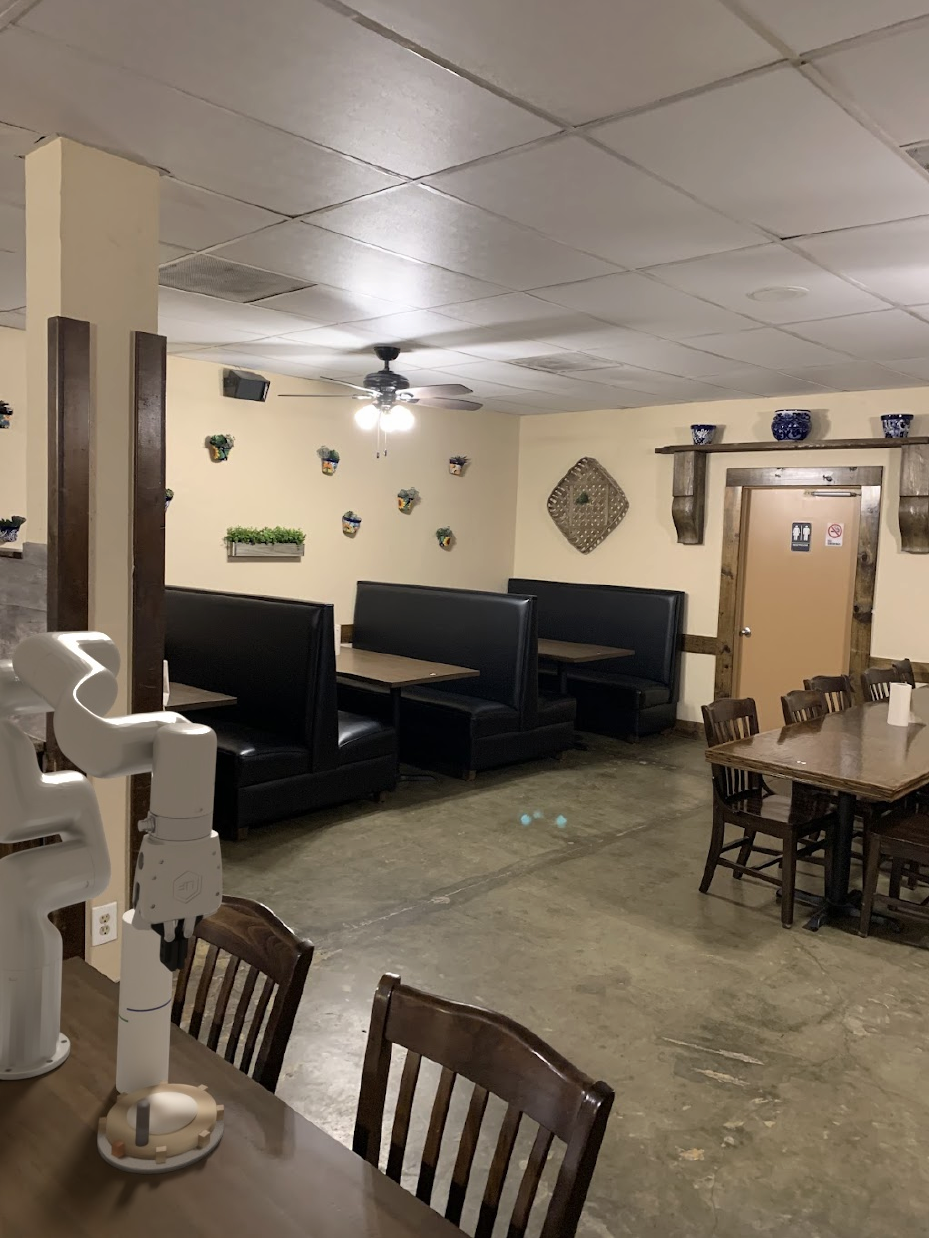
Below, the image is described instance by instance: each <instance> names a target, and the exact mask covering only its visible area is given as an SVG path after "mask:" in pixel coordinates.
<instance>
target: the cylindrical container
mask: <svg viewBox="0 0 929 1238" xmlns="http://www.w3.org/2000/svg"><path fill="white" fill-rule="evenodd" d="M134 912H135V910H134V909H133V908H131V909H129V910H127V911H126V912H124V913H123V915H122V919H121V921H122V923H121V924H122V926H121V943H120V968H119V969H120V970H119V971H120V972H119V976H120V977H119V994H118V996H119V997H118V1000H119V1001H118V1023H117V1025H118V1026H117V1049H116V1072H115V1073H116V1074H115V1075H116V1078H115V1081H116V1082H115V1087H116V1091H118V1092H119V1093H120V1094H121V1093H123V1092H125V1093H127V1094H130V1093H132V1092H135V1091H137V1090H140V1089H142V1088H146V1087H149V1086H154V1085H159V1081H163V1080H168V1081H169V1062H170V1061H169V1059H170V1040H171V1039H170V1038H171V1036H170V1035H171V1015H172V995H173V994H172V993H173V992H172V990H173V972H174V971H173V972H171V971H170V970H169V969H168V968H167V967H166V966H165V965H164V964H162V963H161V961H160V938H161V936H160V935H159V934H157V933H156V932H155V931H154V930H137V929H135V928H134V927H133V926H132V919H133V916H134ZM173 923H174V927H175V924H176V920H175V921H173Z"/></svg>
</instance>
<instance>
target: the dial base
mask: <svg viewBox="0 0 929 1238" xmlns="http://www.w3.org/2000/svg"><path fill="white" fill-rule="evenodd" d="M224 1122H225V1118H224V1119H223V1121H216V1125H215V1128H214V1130H213V1132H212V1133H211V1135H210V1144H208V1145H207V1146H205V1147H204V1148H202V1147H200V1146H196V1147H195V1148H193V1149H191V1150H189V1151H186V1152H184V1153H181V1154H178V1155H174V1156H170V1157H166V1162H162V1163H156V1159H144V1158H136V1157H131V1156H127V1155H125V1154H123V1155H122V1156H121V1157H119V1158H117V1157H115V1156H113V1155H111V1147H112V1146H111V1145H110V1144H109V1142H108V1140H107V1137H106V1134H98V1133H97V1144H96V1145H97V1151H98V1153H99V1155H100V1156H101V1158H102V1159H103V1161H105V1163H107V1164H108V1165H110V1166H112V1167H113V1168H116V1169H118V1170H120V1171H124V1172H128V1173H132V1174H140V1175H141V1174H142V1175H146V1174H147V1175H152V1174H162V1173H163V1174H164V1173H168V1172H173V1171H177V1170H180V1169H183V1168H186V1167H189V1166H190V1165H191V1166H192V1165H193V1164H195V1163H197V1162H199V1161H200V1160H202V1159H204V1158H205V1157H207V1156H208V1155H209V1154H210V1153H211V1152H213V1151H214V1149H216V1148H217V1147H218V1144H219V1143H221V1140H222V1137H223V1135H224V1126H225V1123H224Z"/></svg>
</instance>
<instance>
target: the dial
mask: <svg viewBox="0 0 929 1238" xmlns="http://www.w3.org/2000/svg"><path fill="white" fill-rule="evenodd" d="M224 1114H225V1105H224V1104H217V1102H216V1100H215V1098H214V1097H213V1096H212V1095H211V1094H210V1093H209V1086H207V1085H204V1084H201V1083H200V1085H198V1086H194V1085H190V1084H183V1083H169V1079H168V1080H163V1081H159V1085H154V1086H149V1087H146V1088H142V1089H140V1090H137V1091H135V1092H132V1093H130V1094H127V1093H125V1092H123V1093H120V1094H118V1095H117V1096H116V1102H115V1104H114V1105H113V1106H112V1107H111V1108H110V1109H109V1111H108V1113H107V1116H102V1117H98V1118H99V1119H98V1127H97V1128H98V1129H97V1130H98V1131H97V1135H98V1134H106V1137H107V1140H108V1142H109V1144H110V1145H111V1146H112V1147H111V1155H113V1156H115V1157H117V1158H119V1157H121V1156H122V1155H123V1154H125V1155H127V1156H131V1157H136V1158H144V1159H156V1163H162V1162H166V1157H170V1156H174V1155H178V1154H181V1153H184V1152H186V1151H189V1150H191V1149H193V1148H195V1147H196V1146H200V1147H202V1148H204V1147H205V1146H207V1145H208V1144H210V1135H211V1133H212V1132H213V1130H214V1128H215V1125H216V1121H223V1119H224V1120H225V1118H224V1117H225V1116H224Z"/></svg>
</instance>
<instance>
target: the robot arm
mask: <svg viewBox="0 0 929 1238" xmlns="http://www.w3.org/2000/svg"><path fill="white" fill-rule="evenodd" d="M120 669H121V653H120V649H119V648H118V646H117V644H116V643H115V641H114V640H113V639H112V638H111V637H110V636H108V635H107V634H106V633H103V632H100V631H95V630H79V631H48V632H41V633H36V634H33V635H31V636H27V637H26V638H24V639H23V640H21V642H20V643H19V644H18V645H17V646H16V647H15V649H14V652H13V654H12V658H8V659H7V658H6V659H0V844H14V843H19V842H24V841H25V842H26V841H29V840H35V839H38V838H39V839H40V838H44V837H50V836H53V835H59V836H60V839H61V841H60V842H55V843H52V844H46V845H41V846H37V847H33V848H27V849H24V850H19V851H17V852H13V853H11V854H8V855H6V856H4V857H2V858H0V1080H5V1081H6V1080H7V1081H9V1080H10V1081H11V1080H12V1081H13V1080H23V1079H29V1078H33V1077H36V1076H37V1077H38V1076H41V1075H43V1074H45V1073H49V1072H50V1071H53V1070H54V1069H55V1068H58V1067H59V1066H60V1065H62V1064H63V1063H64V1062H65V1061H66V1059H67V1058H68V1057H69V1055H70V1053H71V1041H70V1039H69V1038H68V1037H67V1036H66V1035H65V1034H64V1033H62V1032H61V1008H62V1007H61V1003H62V1002H61V1001H62V999H61V998H62V977H63V976H62V973H63V938H62V935H61V932H60V930H59V929H58V928H57V927H56V926H55V925H54V924H53V923H52V922H51V921H50V919H49V918H48V915H49V914H50V913H52V912H54V911H56V910H57V911H58V910H60V909H62V908H65V907H69V906H72V905H76V904H79V903H82V902H86V901H90V900H92V899H95V898H97V897H99V896H100V895H103V893H105V891H106V890H107V889H108V887H109V885H110V882H111V878H112V864H111V858H110V853H109V848H108V842H107V837H106V834H105V833H106V832H105V830H104V824H103V819H102V815H101V810H100V806H99V802H98V797H97V794H96V792H95V789H94V787H93V784H92V783H91V781H90V780H89V779H88V778H87V776H85V775H84V774H83V773H81V772H79V771H77V770H76V771H75V770H71V769H69V770H67V769H66V770H57V771H52V772H46V773H43V772H42V771H41V769H40V766H39V763H38V758H37V757H38V756H37V752H36V747H35V745H34V743H33V741H32V740H31V738H30V737H29V736H28V734H26V732H24V730H22V728H20V726H18V725H17V724H15V723H14V722H12V721H11V720H10V719H9V717H11V716H21V715H22V716H23V715H32V714H41V713H50V712H53V720H52V721H53V733H54V736H55V739H56V743H57V745H58V747H59V749H60V751H61V753H62V754H63V755H64V756H65V757H66V759H68V760H69V761H70V762H71V763H73V765H75V766H76V767H77V768H78V769H80V770H81V771H83V772H84V773H85V774H87V775H89V776H91V777H94V778H97V779H101V780H102V779H103V780H104V779H105V780H107V779H109V780H110V779H117V778H121V777H127V776H131V775H138V774H143V773H151V782H150V799H149V800H150V801H149V802H150V803H149V810H148V811H147V817H146V818H144V819H141V820H138V822H137V829H138V831H139V832H146V833H147V834H144V835H143V837H142V841H141V844H140V848H139V851H138V856H137V860H136V866H135V873H134V879H133V888H132V889H133V890H132V909H134V910H135V912H134V916H133V919H132V926H133V927H134V928H135V929H137V930H154V931H155V932H156V933H157V934H159V935H160V936H161V938H160V961H161V963H162V964H164V965H165V966H166V967H167V968H168V969H169V970H170V971H171V972H176V971H177V970H179V971H181V970H184V969H185V962H186V961H185V960H186V959H187V958H188V953H189V952H188V951H189V938H191V937H192V935H193V933H194V930H195V929H196V928H197V926H198V925H199V924H201V923H200V922H201V921H203V919H204V920H205V919H207V918H208V917H211V916H213V915H216V914H217V913H218V911H219V908H220V907H221V905H222V900H223V862H222V852H221V844H220V837H219V836H220V835H219V833H218V832H217V831H215V830H213V820H214V819H213V817H214V815H213V814H214V799H215V798H214V797H215V785H216V784H215V782H216V764H217V751H218V750H217V749H218V738H217V734H216V732H215V730H214V729H213V728H211V726H208V725H205V724H201V723H193V722H192V721H190V720H189V719H188V718H186V717H185V716H183V715H182V714H180V713H178V712H175V711H170V710H169V711H167V710H161V711H153V712H143V713H142V712H141V713H132V714H122V715H116V716H115V715H114V716H107V717H105V716H106V715H107V714H108V712H110V710H111V709H112V708H113V706H114V705H115V703H116V700H117V697H118V692H119V685H118V682H117V679H116V678H117V677H118V675H119V672H120ZM173 921H175V926H174V923H173Z"/></svg>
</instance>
